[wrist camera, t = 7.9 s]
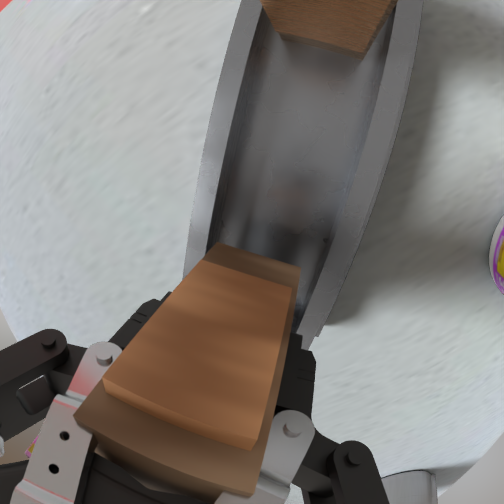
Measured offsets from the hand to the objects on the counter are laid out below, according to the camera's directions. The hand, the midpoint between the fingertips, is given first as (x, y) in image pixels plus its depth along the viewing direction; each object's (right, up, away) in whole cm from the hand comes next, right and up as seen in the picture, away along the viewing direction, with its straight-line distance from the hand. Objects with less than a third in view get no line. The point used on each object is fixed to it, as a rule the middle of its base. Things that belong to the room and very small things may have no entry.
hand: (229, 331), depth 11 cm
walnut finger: (+1, +1, +3) cm, 3 cm away
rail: (+3, +9, +3) cm, 10 cm away
